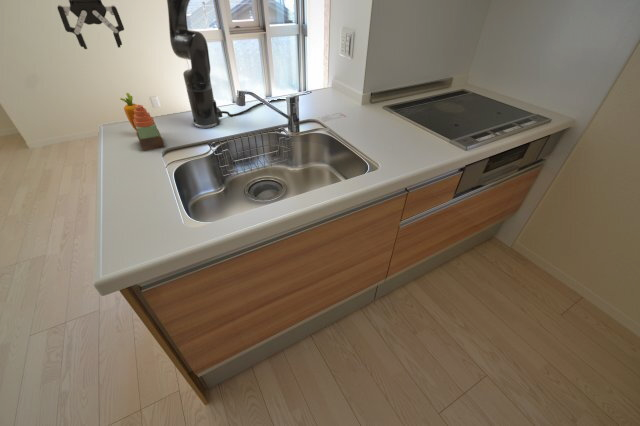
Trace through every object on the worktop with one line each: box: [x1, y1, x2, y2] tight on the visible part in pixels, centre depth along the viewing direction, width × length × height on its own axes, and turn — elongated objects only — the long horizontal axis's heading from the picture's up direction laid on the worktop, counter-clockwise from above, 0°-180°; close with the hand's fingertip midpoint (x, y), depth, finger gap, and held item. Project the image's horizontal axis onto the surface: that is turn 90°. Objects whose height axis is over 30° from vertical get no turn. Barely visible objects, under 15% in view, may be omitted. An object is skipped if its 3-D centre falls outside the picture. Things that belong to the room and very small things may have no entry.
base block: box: [135, 128, 165, 152], centre depth 104 cm, size 7×7×4 cm
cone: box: [133, 104, 155, 127], centre depth 98 cm, size 6×6×6 cm
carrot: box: [119, 92, 138, 132], centre depth 106 cm, size 5×5×15 cm
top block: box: [136, 121, 160, 140], centre depth 101 cm, size 6×6×4 cm
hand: (103, 47), depth 88 cm, fingers open, 8 cm apart
